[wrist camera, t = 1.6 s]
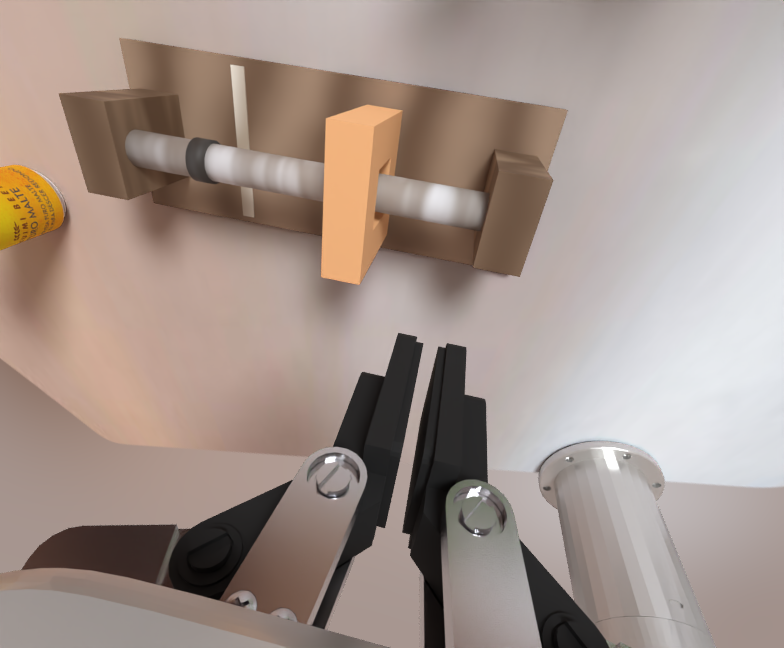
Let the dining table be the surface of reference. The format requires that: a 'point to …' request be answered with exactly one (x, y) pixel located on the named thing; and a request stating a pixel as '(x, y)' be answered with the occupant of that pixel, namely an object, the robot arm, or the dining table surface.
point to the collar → (356, 188)
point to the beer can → (27, 205)
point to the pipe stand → (316, 150)
